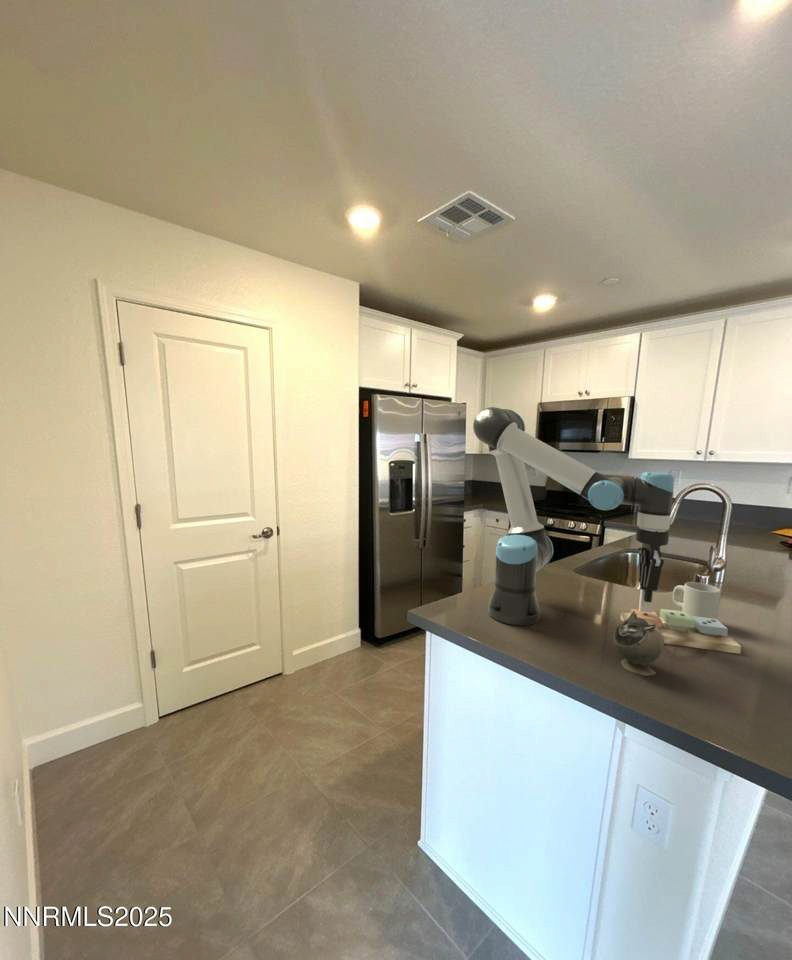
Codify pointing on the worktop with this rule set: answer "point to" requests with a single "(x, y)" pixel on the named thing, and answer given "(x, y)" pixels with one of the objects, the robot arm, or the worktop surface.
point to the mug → (699, 599)
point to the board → (695, 638)
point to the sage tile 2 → (677, 620)
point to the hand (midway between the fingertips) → (644, 611)
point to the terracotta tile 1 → (648, 617)
